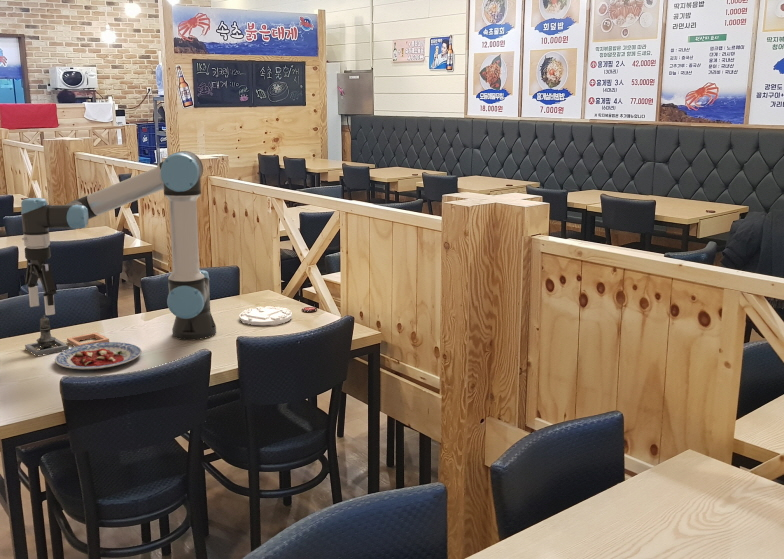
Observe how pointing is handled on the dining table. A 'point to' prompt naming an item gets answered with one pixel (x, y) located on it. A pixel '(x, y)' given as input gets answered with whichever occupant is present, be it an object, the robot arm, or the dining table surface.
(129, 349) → the ceramic plate
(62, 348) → the socket
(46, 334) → the chess piece
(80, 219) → the robot arm
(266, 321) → the embossed medallion
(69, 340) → the socket
